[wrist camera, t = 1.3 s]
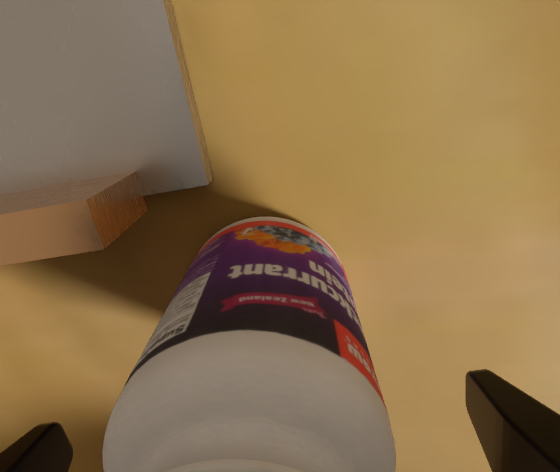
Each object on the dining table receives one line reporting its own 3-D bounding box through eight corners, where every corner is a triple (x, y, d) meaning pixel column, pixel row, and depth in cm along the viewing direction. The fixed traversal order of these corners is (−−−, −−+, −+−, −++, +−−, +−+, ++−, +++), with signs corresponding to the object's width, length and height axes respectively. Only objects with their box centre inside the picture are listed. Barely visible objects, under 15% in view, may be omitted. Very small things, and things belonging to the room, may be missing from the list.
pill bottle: (377, 266, 13) (575, 666, 4) (288, 370, 15) (292, 816, 6) (241, 179, 12) (111, 458, 3) (163, 302, 14) (-69, 714, 5)
